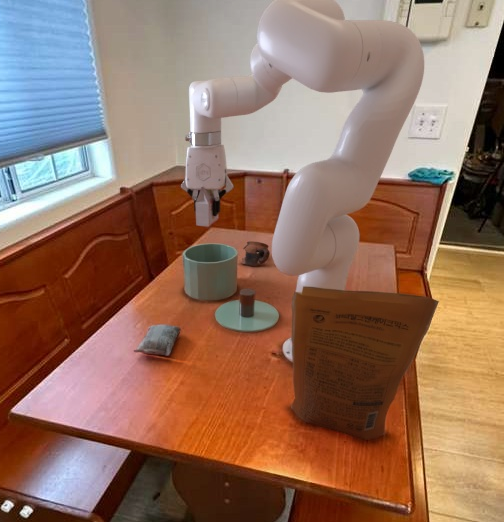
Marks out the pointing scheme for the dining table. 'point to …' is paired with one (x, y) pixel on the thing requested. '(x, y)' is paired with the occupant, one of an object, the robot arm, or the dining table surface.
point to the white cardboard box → (205, 208)
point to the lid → (246, 314)
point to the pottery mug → (255, 253)
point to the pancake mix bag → (353, 355)
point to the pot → (210, 271)
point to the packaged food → (159, 340)
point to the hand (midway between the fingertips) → (207, 213)
